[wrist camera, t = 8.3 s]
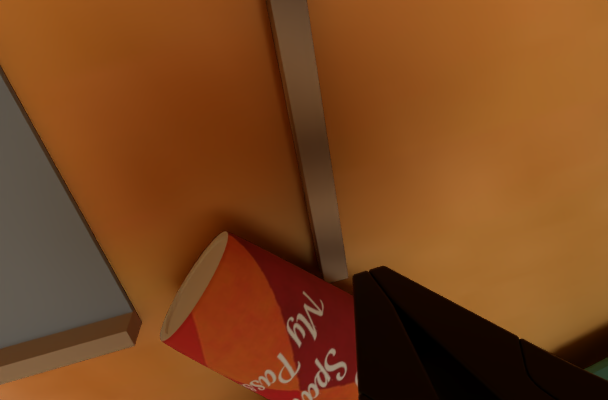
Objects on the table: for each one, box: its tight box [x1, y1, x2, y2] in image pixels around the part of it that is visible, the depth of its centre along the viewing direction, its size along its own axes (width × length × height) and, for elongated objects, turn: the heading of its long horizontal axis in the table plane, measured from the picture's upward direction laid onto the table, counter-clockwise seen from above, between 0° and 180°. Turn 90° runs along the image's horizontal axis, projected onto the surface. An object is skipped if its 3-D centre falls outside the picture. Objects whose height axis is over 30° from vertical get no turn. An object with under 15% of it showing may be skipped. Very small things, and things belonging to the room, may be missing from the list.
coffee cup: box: [160, 231, 359, 400], centre depth 19 cm, size 8×8×15 cm
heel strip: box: [266, 0, 348, 283], centre depth 18 cm, size 16×2×2 cm, turn 11°
